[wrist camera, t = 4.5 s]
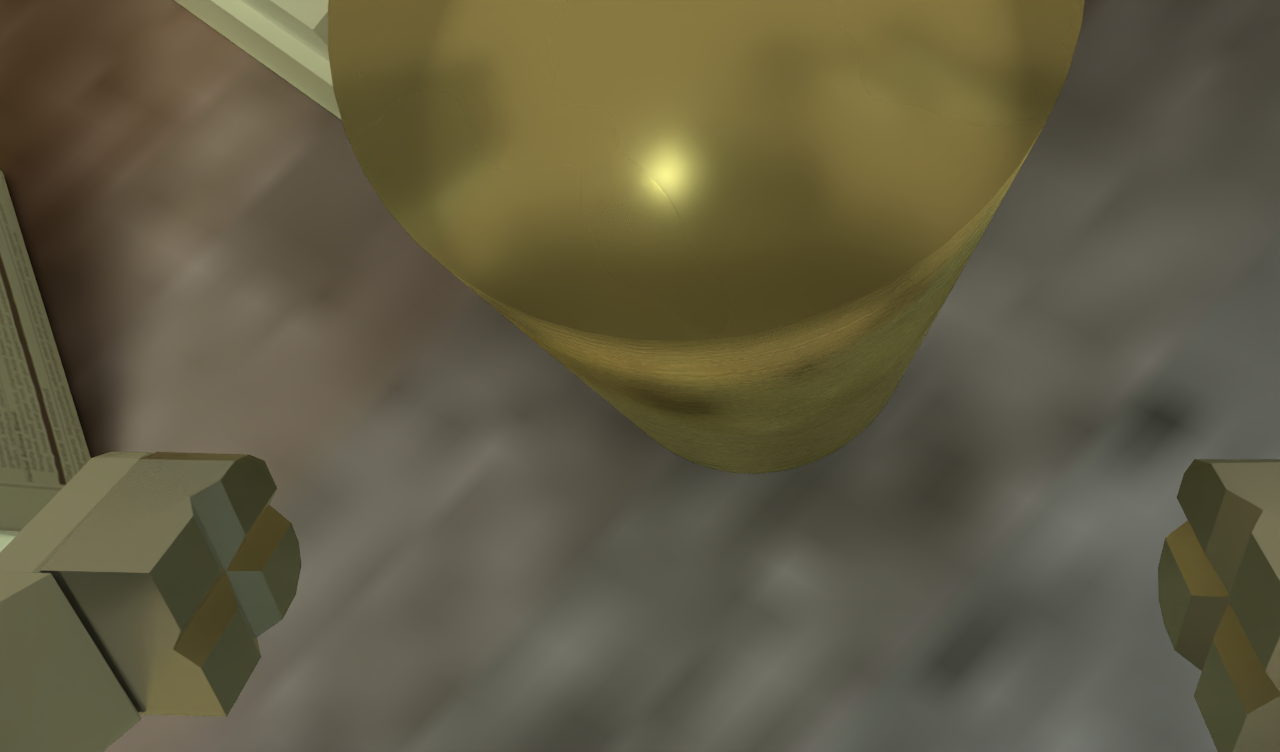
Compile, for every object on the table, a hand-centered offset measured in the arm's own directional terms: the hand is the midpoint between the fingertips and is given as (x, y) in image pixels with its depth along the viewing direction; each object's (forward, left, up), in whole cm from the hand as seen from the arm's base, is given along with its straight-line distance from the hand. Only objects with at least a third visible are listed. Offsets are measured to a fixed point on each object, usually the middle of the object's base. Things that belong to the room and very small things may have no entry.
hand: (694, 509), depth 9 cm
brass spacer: (+2, -3, -9) cm, 10 cm away
